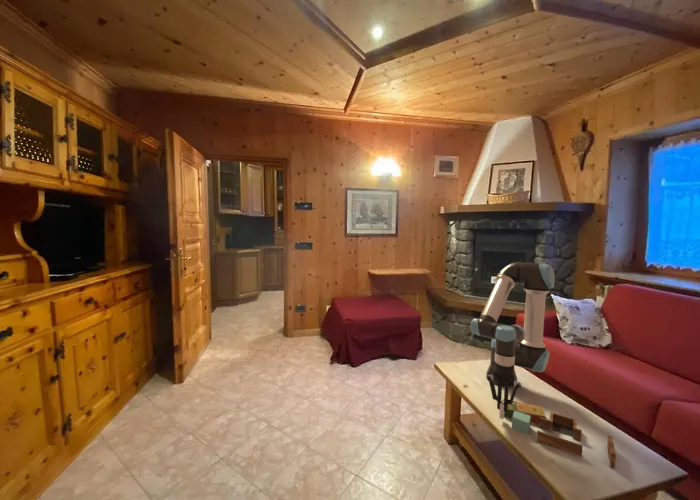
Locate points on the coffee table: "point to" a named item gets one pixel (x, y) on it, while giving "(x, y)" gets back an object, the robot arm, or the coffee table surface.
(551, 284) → the robot arm
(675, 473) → the coffee table surface
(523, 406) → the carton
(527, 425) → the block
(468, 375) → the coffee table surface
